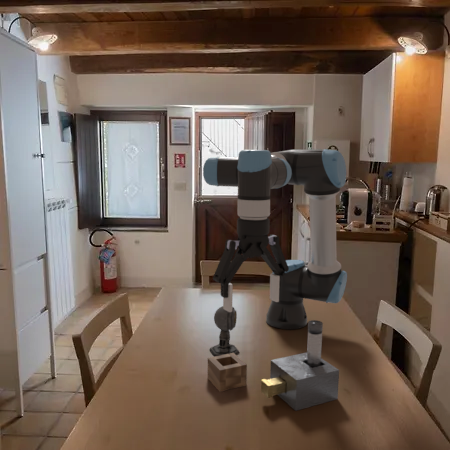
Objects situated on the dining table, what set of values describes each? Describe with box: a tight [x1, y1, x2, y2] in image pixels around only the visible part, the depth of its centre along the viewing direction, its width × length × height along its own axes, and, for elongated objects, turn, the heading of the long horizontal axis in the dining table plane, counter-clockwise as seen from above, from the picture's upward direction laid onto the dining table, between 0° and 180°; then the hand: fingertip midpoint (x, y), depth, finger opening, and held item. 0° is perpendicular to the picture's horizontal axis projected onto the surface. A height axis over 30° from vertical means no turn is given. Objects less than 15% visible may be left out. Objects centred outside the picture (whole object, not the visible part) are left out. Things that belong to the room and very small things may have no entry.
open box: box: [207, 353, 248, 392], centre depth 126 cm, size 8×8×6 cm
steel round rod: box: [306, 319, 324, 368], centre depth 120 cm, size 4×4×18 cm
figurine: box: [209, 305, 240, 357], centre depth 144 cm, size 9×10×15 cm
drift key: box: [260, 377, 287, 399], centre depth 117 cm, size 3×9×3 cm, turn 116°
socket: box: [269, 351, 340, 412], centre depth 120 cm, size 12×13×8 cm
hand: (251, 305), depth 109 cm, fingers open, 13 cm apart
